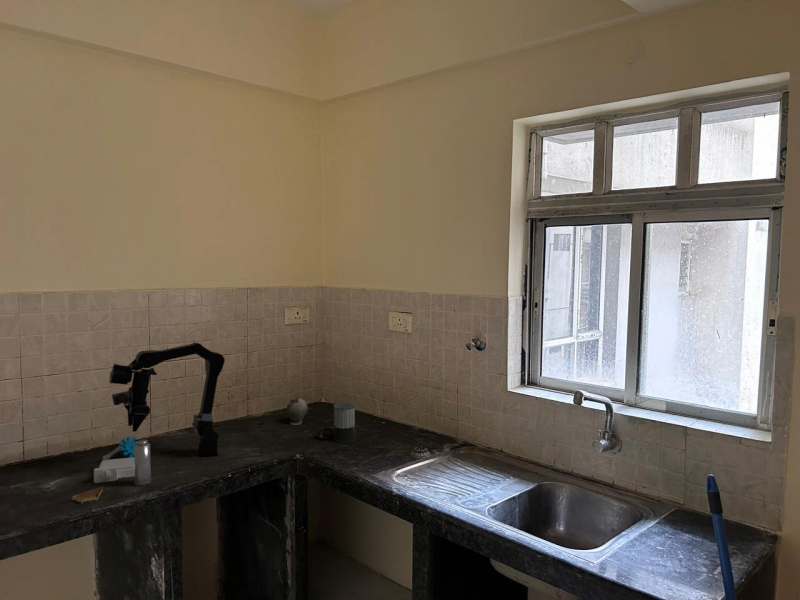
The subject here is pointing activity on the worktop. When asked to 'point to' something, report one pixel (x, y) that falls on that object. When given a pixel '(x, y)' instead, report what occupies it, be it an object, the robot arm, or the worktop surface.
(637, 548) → the worktop surface
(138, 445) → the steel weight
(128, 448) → the gear
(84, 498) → the shard
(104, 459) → the combination wrench
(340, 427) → the milk frother
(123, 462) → the kitchen scale
